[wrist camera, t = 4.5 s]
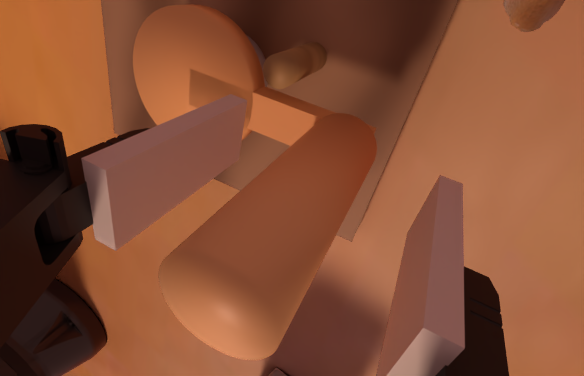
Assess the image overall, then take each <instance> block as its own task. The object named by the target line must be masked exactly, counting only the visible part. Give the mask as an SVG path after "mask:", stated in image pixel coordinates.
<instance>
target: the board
mask: <svg viewBox="0 0 584 376" xmlns="http://www.w3.org/2000/svg"><path fill="white" fill-rule="evenodd" d="M457 2H458V0H101V6H102V15H103V25H104V35H105V45H106V55H107V65H108V75H109V85H110V94H111V104H112V114H113V124H114V133H116V134H118V135H122V134H124V133H127V132H129V131H132V130H138V129H144V128H149V129H150V128H153V127H155V126H157V125H156V123H155V122H154V121H153V119H152V118H151V116H150V115H149V113H148V111H147V110H146V108H145V106H144V104H143V102H142V100H141V97H140V95H139V92H138V89H137V85H136V82H135V77H134V70H133V49H134V44H135V39H136V36H137V33H138V31H139V29H140V27H141V25H142V24H143V22H144V21H145V20H146V18H147V17H148V16H150V15H151V14H152V13H153V12H155V11H156V10H158V9H160V8H163V7H166V6H171V5H189V4H195V5H204V6H208V7H211V8H213V9H216V10H218V11H220V12H221V13H223V14H225V15H226V16H228V17H229V18H230V19H231V20H233V21H234V22H235V23H236V24H237V25H238V26H239V27H240V28H241V29H242V31H243V32H244V33H245V35H246V36H247V37H248V39H249V40H250V42H251V44H252V45H253V47H254V49H255V51H256V53H257V56H258V58H259V61H260V64H261V67H262V71H263V76H264V83H265V87H268V88H271V89H273V90H276V91H279V92H281V93H284V94H287V95H290V96H292V97H295V98H298V99H300V100H303V101H306V102H308V103H311V104H314V105H316V106H319V107H322V108H324V109H327V110H330V111H333V112H335V113H346V114H350V115H353V116H356V117H358V118H359V119H361V120H362V121H364V122H365V123H366V124H368V125H370V126H373V127H376V131H375V133H374V136H375V139H376V143H377V153H376V158H375V161H374V162H373V164H372V166H371V168H370V170H369V172H368V174H367V176H366V178H365V180H364V182H363V184H362V186H361V188H360V190H359V192H358V193H357V195H356V197H355V199H354V201H353V203H352V205H351V207H350V209H349V211H348V213H347V215H346V217H345V219H344V221H343V223H342V224H341V226H340V228H339V230H338V232H337V234H336V235H338V236H340V237H342V238H344V239H346V240H349V241H351V242H352V240H353V238H354V236H355V233H356V231H357V229H358V227H359V224H360V222H361V220H362V218H363V215H364V213H365V211H366V208H367V206H368V204H369V202H370V199H371V197H372V195H373V193H374V190H375V188H376V186H377V184H378V181H379V179H380V177H381V174H382V172H383V170H384V168H385V165H386V163H387V161H388V159H389V156H390V154H391V152H392V150H393V147H394V145H395V143H396V140H397V138H398V136H399V134H400V131H401V129H402V127H403V125H404V122H405V120H406V118H407V115H408V113H409V111H410V109H411V106H412V104H413V102H414V100H415V97H416V95H417V93H418V91H419V88H420V86H421V84H422V81H423V79H424V77H425V75H426V72H427V70H428V68H429V66H430V63H431V61H432V59H433V56H434V54H435V52H436V50H437V47H438V45H439V43H440V41H441V38H442V36H443V34H444V32H445V29H446V27H447V25H448V22H449V20H450V18H451V16H452V13H453V11H454V9H455V7H456V4H457ZM289 147H290V146H289V145H287V144H284V143H282V142H280V141H277V140H275V139H272V138H270V137H267V136H265V135H262V134H260V133H258V132H255V131H252V132H251V133H250V134H249V135H248V136H247V137H246V138H245V139H243V140H242V141H241V148H240V155H239V160H238V161H236V162H235V163H233V164H232V165H231V166H229V167H228V168H227V169H225V170H224V171H223V172H221V173H220V174H219V175H217V176H216V177H215V178H214V179H216V180H218V181H220V182H222V183H225V184H227V185H229V186H231V187H233V188H235V189H238V190H240V191H241V190H242V189H243V188H244V187H245V186H246V185H248V184H249V183H250V182H251V181H252V180H253V179H254V178H255V177H257V176H258V175H259V174H260V173H261V172H262V171H263V170H264V169H266V168H267V167H268V166H269V165H270V164H271V163H272V162H273V161H275V160H276V159H277V158H278V157H279V156H280V155H281V154H282V153H284V152H285V151H286V150H287V149H288V148H289Z"/></svg>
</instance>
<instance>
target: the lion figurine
mask: <svg viewBox="0 0 584 376" xmlns="http://www.w3.org/2000/svg"><path fill="white" fill-rule="evenodd" d="M564 1H565V0H504V7H505V10H506V13H507V14H508V15H509V17H510V22H511V24H512V25H513V26H514V27H515V28H517V29H519V30H520V31H523V32H530V31H534V30H536V29H538V28H540V27H541V26H542V24H543V23H544V22H546V21H548V20H549V19H551V18H552V17H553V16H554V15H555V14H556V13H557V12H558V11H559V9H560V7H561V6H562V4H563V3H564Z"/></svg>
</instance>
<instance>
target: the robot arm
mask: <svg viewBox="0 0 584 376" xmlns="http://www.w3.org/2000/svg"><path fill="white" fill-rule="evenodd" d="M246 106H247V100H245V99H242V98H240V97H237V96H235V95H232V94H230V95H227V96H225V97H223V98H220V99H218V100H216V101H213V102H211V103H209V104H206V105H204V106H202V107H199V108H197V109H195V110H192V111H190V112H188V113H185V114H183V115H181V116H178V117H176V118H174V119H171V120H169V121H167V122H164V123H162V124H160V125H157V126H155V127H153V128H150V129H149V128H144V129H138V130H132V131H129V132H127V133H124V134H122V135H119V136H118V137H117V138H112V139H110V140H107V141H106V143H105V142H102V143H100V144H98V145H95V146H93V147H90V148H88V149H85V150H83V151H80V152H78V153H76V154H73V155H71V156H68V157H67V156H66V151H65V146H64V141H63V136H62V132H60V131H59V130H58V129H56V128H53V127H50V126H47V125H38V124H29V125H19V126H14V127H9V128H7V129H4V130H2V131H0V134H1V137H2V140H3V143H4V147H5V150H6V153H7V156H8V159H9V161H7V160H3V159H0V376H62V375H63V374H65V373H67V372H69V371H70V370H72V369H74V368H76V367H77V366H79V365H81V364H82V363H84V362H86V361H87V360H89V359H91V358H92V357H94V356H95V355H96V354H97V353H98V352H99V351H100V350H101V349H102V348H103V347H104V346H105V344H106V335H105V332H104V329H103V327H102V325H101V324H100V322H99V320H98V319H97V317H96V316H95V314H94V313H93V312H92V311H91V309H90V308H89V307H88V306H87V305H86V304H85V303H84V302H83V301H82V300H81V299H80V298H79V297H78V296H77V295H76V294H75V293H74V292H73V291H72V290H70V289H69V288H68V287H66V286H65V285H63V284H62V283H60V282H59V281H57V280H55V279H54V278H55V277H56V276H57V274H58V273H59V272H60V270H61V269H62V268H63V267H64V265H65V264H66V263H67V261H68V260H69V259H70V258H71V256H72V255H73V254H74V252H75V251H76V250H77V248H78V247H79V246H80V244H81V242H82V240H83V236H82V230H84V229H86V228H87V227H89V226H90V225H92V224H93V229H94V235H95V239H96V240H97V241H99V242H101V243H103V244H105V245H106V246H108V247H110V248H112V249H113V250H115V251H116V250H118V249H119V248H120V247H122V246H123V245H124V244H126V243H127V242H128V241H130V240H131V239H132V238H134V237H135V236H136V235H138V234H139V233H141V232H142V231H143V230H145V229H146V228H147V227H149V226H150V225H151V224H153V223H154V222H155V221H157V220H158V219H159V218H161V217H162V216H163V215H165V214H166V213H167V212H169V211H170V210H171V209H173V208H174V207H176V206H177V205H178V204H180V203H181V202H182V201H184V200H185V199H186V198H188V197H189V196H190V195H192V194H193V193H194V192H196V191H197V190H198V189H200V188H201V187H202V186H204V185H205V184H207V183H208V182H209V181H211V180H212V179H213V178H215V177H216V176H217V175H219V174H220V173H221V172H223V171H224V170H225V169H227V168H228V167H229V166H231V165H232V164H233V163H235V162H236V161H238V160H239V155H240V148H241V141H242V134H243V127H244V120H245V113H246ZM500 312H501V310H500V302H499V295H498V293H497V291H496V290H495V288H494V286H493V284H492V282H491V281H490V279H489V277H487V276H484V275H482V274H480V273H478V272H475V271H473V270H471V269H469V268H466V267H464V255H463V184H462V183H459V182H456V181H454V180H451V179H449V178H446V177H444V176H441V175H440V176H439V178H438V180H437V181H436V183H435V185H434V187H433V189H432V190H431V192H430V194H429V196H428V197H427V199H426V201H425V203H424V205H423V206H422V208H421V210H420V212H419V213H418V215H417V217H416V219H415V221H414V222H413V224H412V226H411V228H410V230H409V231H408V233H407V238H406V242H405V247H404V251H403V256H402V260H401V265H400V269H399V274H398V278H397V283H396V288H395V292H394V297H393V301H392V306H391V310H390V315H389V319H388V324H387V328H386V333H385V337H384V342H383V347H382V351H381V356H380V360H379V365H378V369H377V374H376V376H509V372H508V364H507V356H506V349H505V341H504V333H503V329H502V328H501V327H502V318H501V314H500Z"/></svg>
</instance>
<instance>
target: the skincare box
mask: <svg viewBox="0 0 584 376" xmlns="http://www.w3.org/2000/svg"><path fill="white" fill-rule="evenodd" d="M268 376H287V375H285V374H284V373H283V372H282V371H280V370H279V369H278V368H275V369H274V370H273V371H272V372H271V373H270V374H269V375H268Z"/></svg>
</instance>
